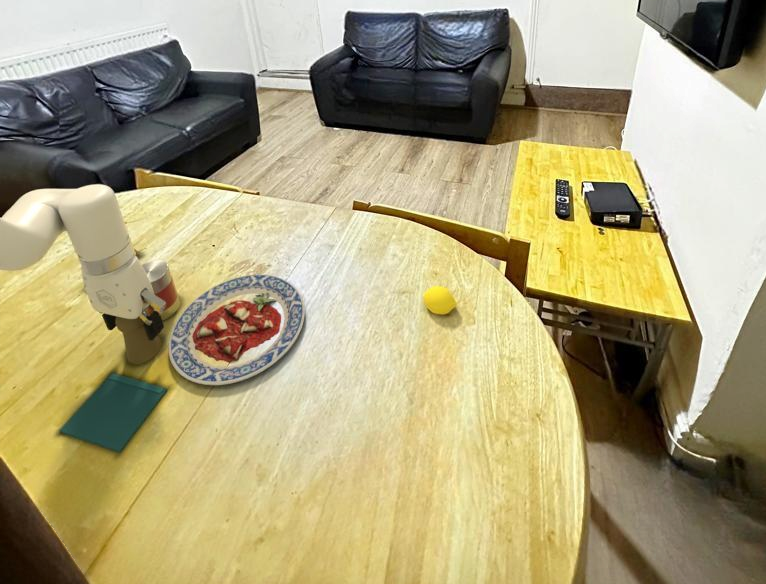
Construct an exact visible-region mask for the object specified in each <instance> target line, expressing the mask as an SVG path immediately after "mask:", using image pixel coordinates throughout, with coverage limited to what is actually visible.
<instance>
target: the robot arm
mask: <svg viewBox="0 0 766 584" xmlns="http://www.w3.org/2000/svg"><path fill="white" fill-rule="evenodd" d="M126 224H127V223H126V222H125V219H124V216H123V213H122V210H121V207H120V204H119V202H118V198H117V196H116V194H115V191H114V190H113V189H112V188H111V187H110V186H108V185H106V184H101V183H96V184H88V185H84V186H81V187H78V188H40V189H34V190H31V191H29V192H26V193H25V194H23V195H22V196H20V197H19V198H18V199H17V200H16V201H15V203H14V204H13V205H12V206H11V207H10V208H9V209H8V210H6V212H4V214H3V215H2V217H0V271H7V272H15V271H16V272H17V271H23V270H26V269H29V268H31V267H33V266H35V265H36V264H38V263H40V261H41V260H42V259H44V258H45V256H46V255H47V253H48V252H49V251H50V249H51V248H52V246H53V245H54V243H55V242H56V240H57V238H58V237H59V236H60V235H62V234H63V233H64V232H66V233H67V235H68V238H69V240H70V242H71V245H72V247H73V249H74V252H75V254H76V256H77V259H78V261H79V263H80V269H81V271H80V273H81V278H82V281H83V286H84V289H83V292H84V293H85V294H86V295H87V298H88V300H89V303H90V305H91V308H92V309H93V310H94V311H96V312H98V313H99V314H101V316H102V319H103V321H104V324H105V326H106V329H107V330H108V331H113V330H114V329H115V328H117V326H116V324H115V320H116V316H117V317H122V318H126V319H136V318H138V316H139V317H140V318H141V319H142V320H143V321H144V322H145V323H144V325H143V326H144V329H145V332H146V334H147V337H148V339H149V340H151V341H152V340H153V339H154V338H155V337H156V336H157V335H158V336H159V334H160V333H161V332H162V330H164V328H165V324H164V322H163V321H164V320H163V321H162V318H161V315H160V314H161V313H162V312H163V311H164V309H165V306H166V302H165V301H164V300H162V299H160V298H159V297H157V296H156V295H154V291H153V288H152V285H151V283H150V280H149V278H148V276H147V274H146V272H145V270H144V268H143V266H142V265H143V264H142V263H141V261H140V260H139V259H140V258H139V259H138V258H137V257H136V256H135V255H136V253H135V250H136V249H135V246H134V244H133V241H132V239H131V236H130V233H129V230H128V227H127V225H126ZM134 249H135V250H134ZM143 301H145V302H146V303H145V304H144V305H143ZM147 307H149V308H150V309H151V310H152V311H153V312H152V313H151V314H150V315H149V316H148V315H147V314H146V313H145V312H144V310H145V309H146V308H147Z"/></svg>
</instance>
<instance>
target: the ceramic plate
mask: <svg viewBox="0 0 766 584" xmlns="http://www.w3.org/2000/svg"><path fill="white" fill-rule="evenodd" d="M253 294H255V295H254V297H253V298H252V300H253V301H255V302H256V303H252V302H251V301H250V300H243V299H242V300H235V301H231V302H230V303H227V304H224V303H225V302H227V301H229V300H231V299H234V298H236V297H240V296H244V295H253ZM268 297H270V298H268ZM274 301H276V302H277V303H278V304H279V305H280V307H281V308H282V312H283V325H282V328H281V323H282V315H281V313H280V312H279V311H278V309H277V308H275V307H274V306H272V305H271V304H270V303H269V302H274ZM222 304H223V305H222ZM257 304H259V305H257ZM220 305H221V306H220ZM218 306H219V308H217V307H218ZM216 308H217V309H216ZM214 309H215V310H214ZM305 313H306V308H305V301H304V299H303V296H302V294H301V293H300V291H299V290H298V289H297V287H296V286H294V284H292V283H291V282H289V281H288V280H286V279H284V278H282V277H279V276H276V275H272V274H271V275H270V274H248V275H242V276H238V277H234V278H231V279H228V280H226V281H223V282H221V283H219V284H217V285H215V286H213V287H211V288H209V289H208V290H206V291H205V292H203V293H202V294H200V295H199V296H198V297H197V298H195V299H194V300H193V301H192V302H191V303H189V305H188V306H187V307H186V308H185V309H184V310H183V312H182V313H181V314H180V315H179V317H178V318H177V320H176V321H175V323H174V325H173V327H172V330H171V331H170V336H169V340H168V346H167V347H168V356H169V360H170V362H171V365H172V367H174V369H175V370H176V372H177V373H178V374H179V375H180V376H182V377H183V378H185V379H186V380H187V381H190V382H193V383H195V384H198V385H205V386H223V385H224V386H225V385H230V384H235V383H239V382H242V381H245V380H246V379H250V378H252V377H254V376H256V375H258V374H260V373H262V372H264V371H266V370H267V369H268V368H270V367H272V366H273V365H274V364H276V362H278V361H279V360H280V359H282V357H283V356H284V355H285V354H286V353H287V352H288V351H289V350H290V349H291V348H292V346H293V345H294V343H295V342H296V340H297V339H298V337H299V335H300V333H301V331H302V328H303V325H304V322H305V315H306V314H305ZM280 329H281V330H280ZM278 334H279V335H278ZM276 335H278V336H277V338H276V339H275V340H274V342H273V343H272V344H271V345H270V346H269V347H268V348H267V349H266V350H265V351H263V352H262V353H261V354H259V355H258V356H255V357H254V358H252V359H250V360H248V361H246V362H245V361H244V362H243V363H239V364H236V365H228V366H227V365H215V364H211V363H209V362H208V361H206V360H205V359H203V358H202V357H201V356H200V354H199V353H198V351H199V352H202V353H203V355H206V356H207V357H208V358H213V359H214V360H215V361H216V362H220V361H224V362H226V363H229V364H231V363H232V362H237V361H238V360H239V359H240V357H241V356H243V355H244V353H246V352H247V351H249V350H250V349H252V348H258V347H259V346H260V345H262V344H263V345H264V343H265V342H267V341H271V340H272V339H271V338H274V337H275V336H276ZM197 350H198V351H197Z"/></svg>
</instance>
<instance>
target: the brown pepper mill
mask: <svg viewBox="0 0 766 584" xmlns="http://www.w3.org/2000/svg"><path fill="white" fill-rule="evenodd" d="M144 312H145V313H146V314H147V315H148V316H149V312H148V309H147V308H146V309H145V310H144ZM144 323H145V322H144V321H143V320H142V319H141V318H140V317H139V316H138V318H136V319H126V318H122V317H117V316H116V320H115V324H116V328H117V330H118V331H120V332H121V333H122V336H123V342H124V346H125V352H126V357H127V361H128V362H129V363H131V364H133V365H138V364H143V363H146V362H148V361H150V360H151V359H153V358H154V357H156V355H157V354H158V353H159V351H161V348H162V343H163V342H162V339H161V338H160V337H159V334H158V335H157V336H156V337H155V338H154V339H153V340H152V341H151V340H149V339H148V337H147V334H146V332H145V329H144V326H143V325H144Z"/></svg>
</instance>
